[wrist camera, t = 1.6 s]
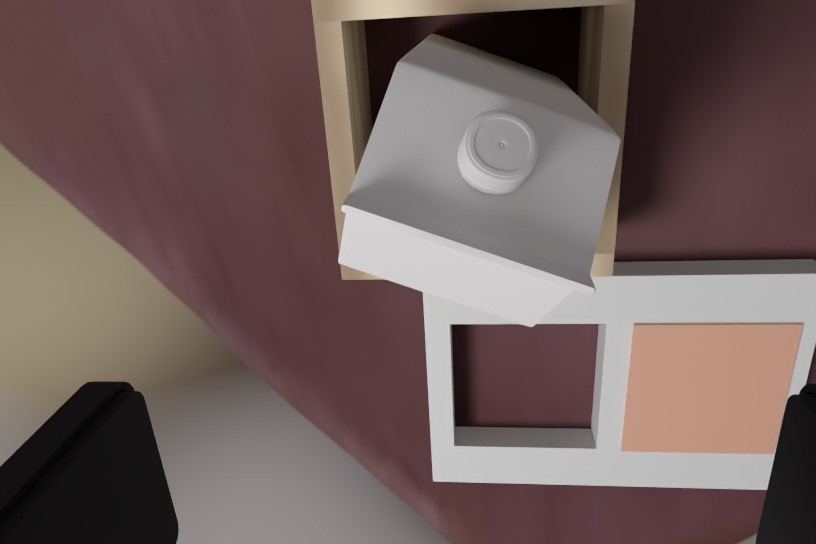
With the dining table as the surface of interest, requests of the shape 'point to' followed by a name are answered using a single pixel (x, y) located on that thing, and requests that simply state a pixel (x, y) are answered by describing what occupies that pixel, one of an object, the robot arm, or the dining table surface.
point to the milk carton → (480, 184)
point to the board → (650, 379)
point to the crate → (353, 3)
